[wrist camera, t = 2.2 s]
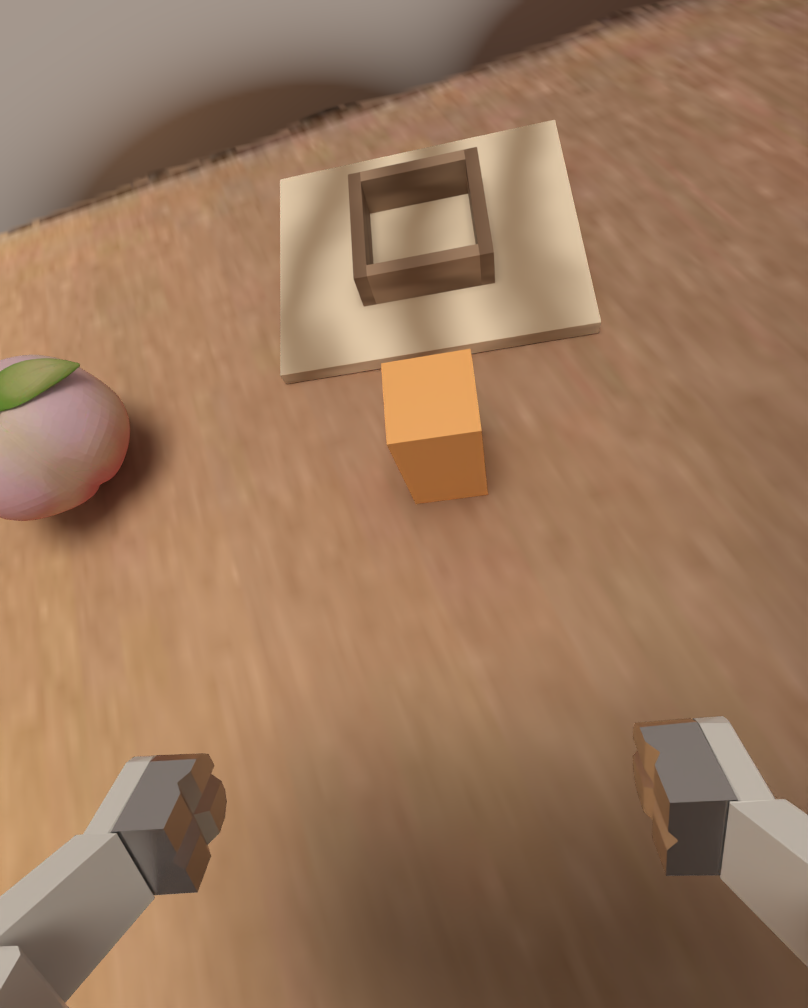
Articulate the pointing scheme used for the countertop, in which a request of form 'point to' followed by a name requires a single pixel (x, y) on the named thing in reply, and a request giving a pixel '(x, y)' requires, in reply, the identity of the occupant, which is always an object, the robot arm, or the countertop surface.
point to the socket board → (431, 255)
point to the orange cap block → (435, 425)
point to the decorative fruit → (55, 436)
